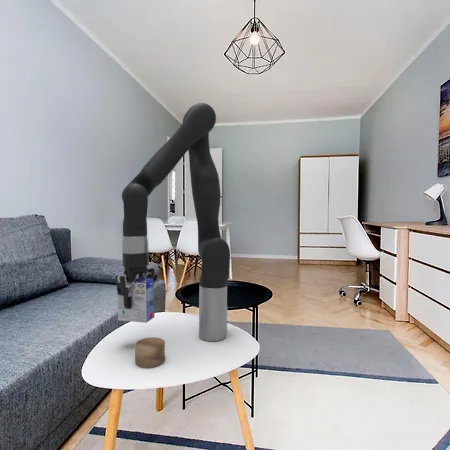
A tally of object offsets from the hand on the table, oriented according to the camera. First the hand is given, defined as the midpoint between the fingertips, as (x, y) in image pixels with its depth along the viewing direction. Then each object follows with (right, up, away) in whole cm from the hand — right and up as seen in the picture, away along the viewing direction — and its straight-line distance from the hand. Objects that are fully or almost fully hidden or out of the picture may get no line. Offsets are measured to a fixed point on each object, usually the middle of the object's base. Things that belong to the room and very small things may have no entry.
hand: (136, 305), depth 96 cm
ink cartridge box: (0, -5, 0) cm, 5 cm away
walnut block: (+6, -14, -8) cm, 17 cm away
